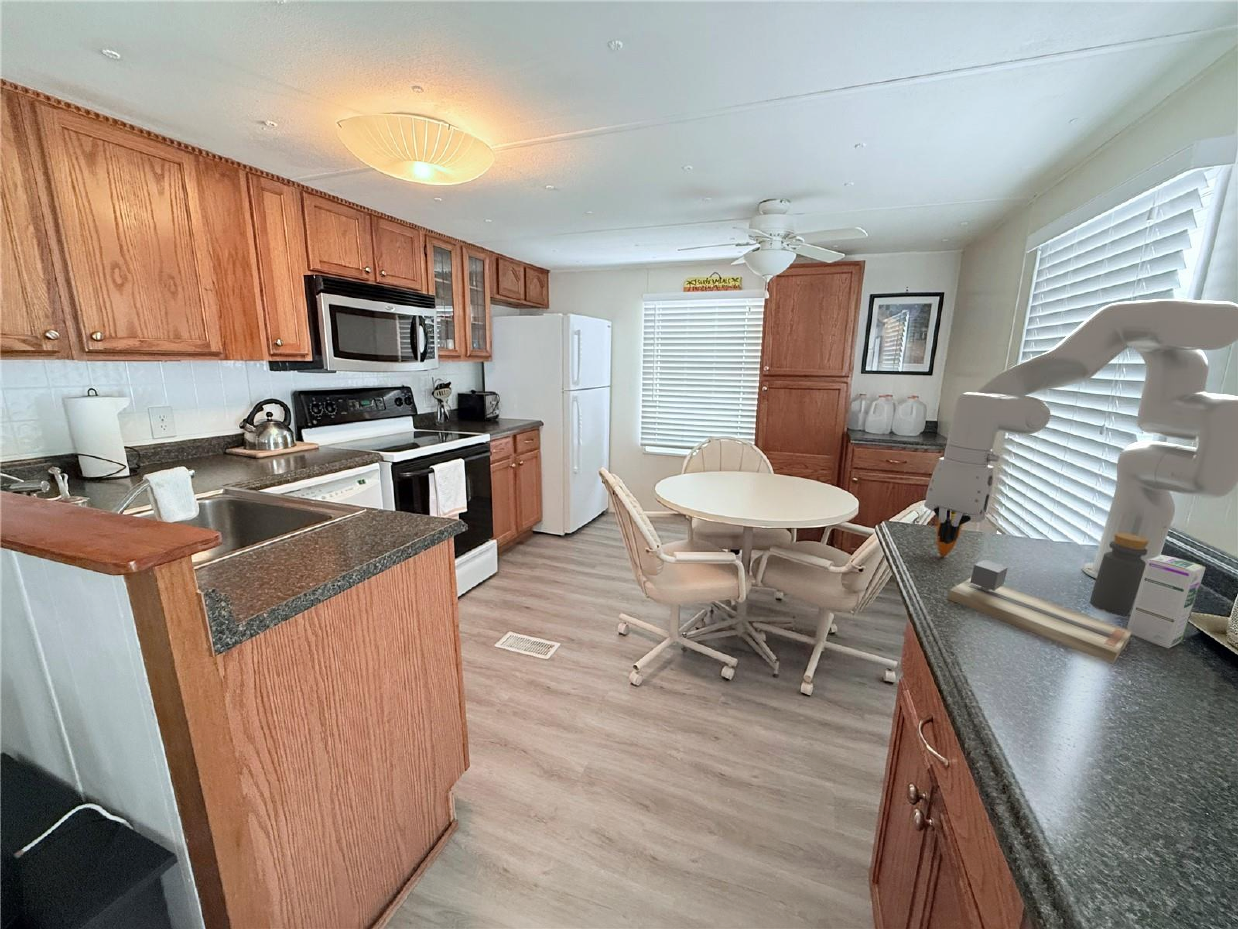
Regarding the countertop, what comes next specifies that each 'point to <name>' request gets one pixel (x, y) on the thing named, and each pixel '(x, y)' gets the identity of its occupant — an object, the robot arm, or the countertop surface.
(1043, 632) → the fader board
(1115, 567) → the bottle
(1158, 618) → the syrup box
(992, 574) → the fader knob
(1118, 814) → the countertop surface
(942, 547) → the carrot
